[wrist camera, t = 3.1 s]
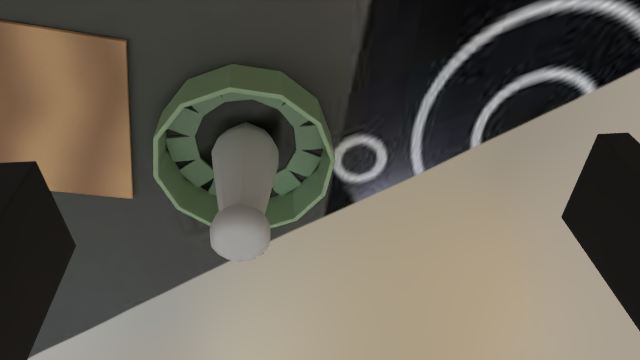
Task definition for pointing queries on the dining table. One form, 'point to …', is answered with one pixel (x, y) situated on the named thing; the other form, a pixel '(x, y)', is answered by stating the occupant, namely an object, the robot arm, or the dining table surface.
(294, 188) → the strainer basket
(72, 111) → the wooden board
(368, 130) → the dining table surface
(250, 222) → the salt shaker
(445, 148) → the dining table surface
